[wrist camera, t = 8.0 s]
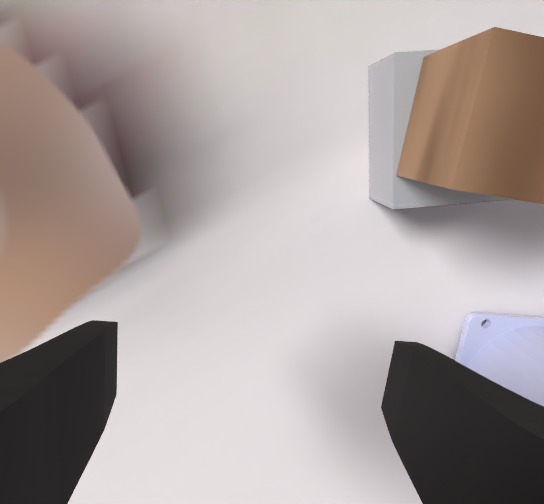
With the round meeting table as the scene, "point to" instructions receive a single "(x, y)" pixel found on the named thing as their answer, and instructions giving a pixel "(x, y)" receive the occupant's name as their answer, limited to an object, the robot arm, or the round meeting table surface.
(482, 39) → the walnut cube
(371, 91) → the grey block
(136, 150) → the round meeting table surface
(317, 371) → the round meeting table surface
